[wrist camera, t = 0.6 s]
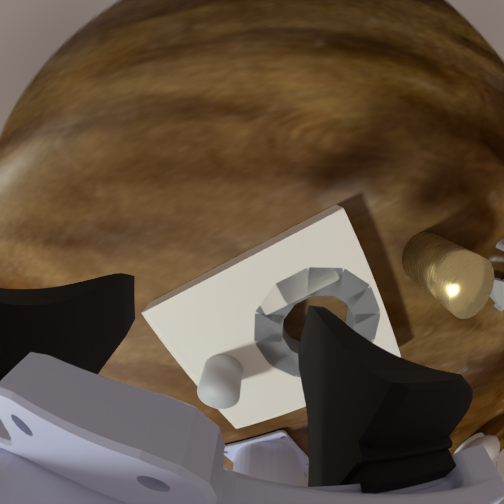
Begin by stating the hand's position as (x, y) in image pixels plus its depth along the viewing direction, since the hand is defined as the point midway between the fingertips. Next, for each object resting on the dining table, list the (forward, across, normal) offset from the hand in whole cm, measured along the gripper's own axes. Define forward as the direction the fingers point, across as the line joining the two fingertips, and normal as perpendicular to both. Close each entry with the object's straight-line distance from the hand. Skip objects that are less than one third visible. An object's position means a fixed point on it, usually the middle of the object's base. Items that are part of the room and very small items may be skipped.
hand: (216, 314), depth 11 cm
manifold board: (+10, -4, +6) cm, 12 cm away
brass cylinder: (+10, -14, -2) cm, 18 cm away
